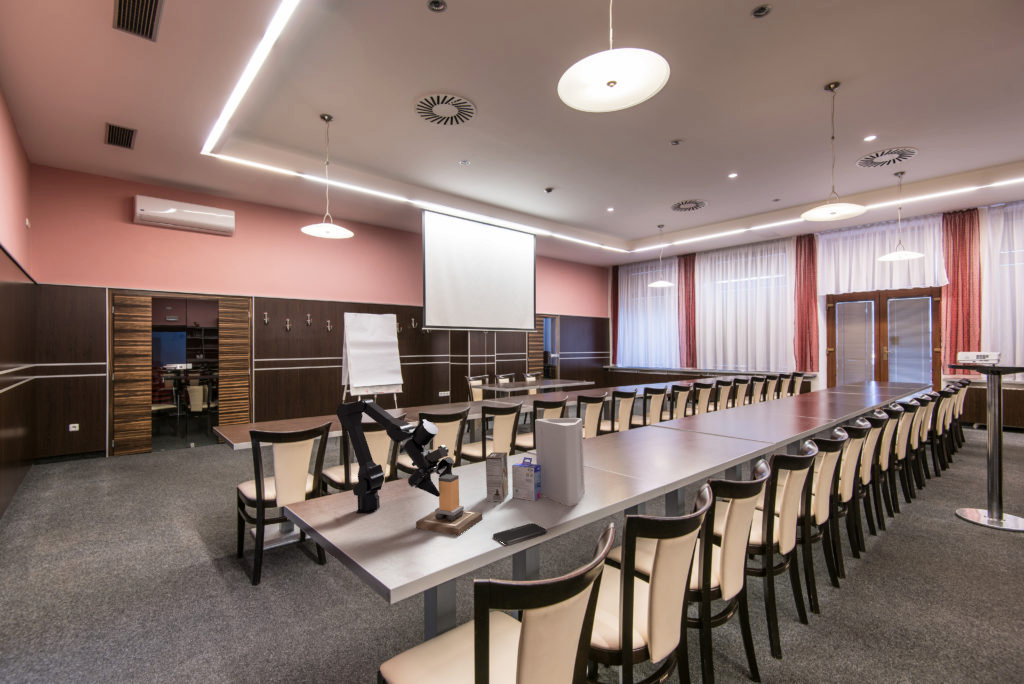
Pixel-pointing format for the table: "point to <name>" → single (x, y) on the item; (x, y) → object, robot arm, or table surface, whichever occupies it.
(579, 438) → the white triangular vase
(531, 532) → the phone
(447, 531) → the dock
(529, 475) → the ink cartridge box
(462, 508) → the grey-topped tan box
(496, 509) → the table surface
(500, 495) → the coffee box
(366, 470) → the robot arm
